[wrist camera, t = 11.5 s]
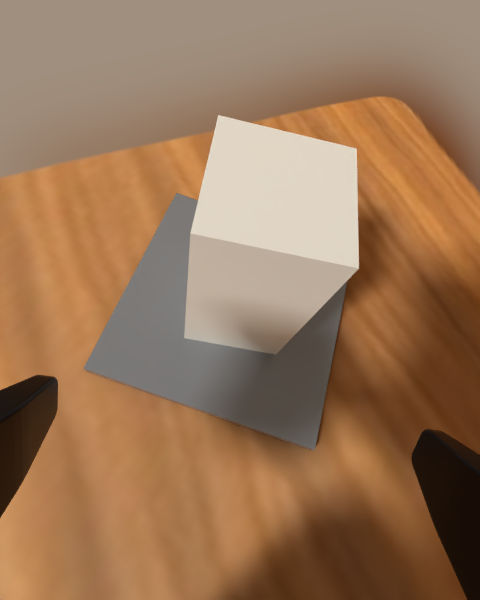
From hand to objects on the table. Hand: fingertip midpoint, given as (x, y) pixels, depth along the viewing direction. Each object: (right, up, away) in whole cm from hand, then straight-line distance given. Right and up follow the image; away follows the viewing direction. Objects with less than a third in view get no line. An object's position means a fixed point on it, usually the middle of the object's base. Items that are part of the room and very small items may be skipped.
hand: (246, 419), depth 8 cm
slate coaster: (0, +2, +12) cm, 12 cm away
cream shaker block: (0, +3, +11) cm, 11 cm away
